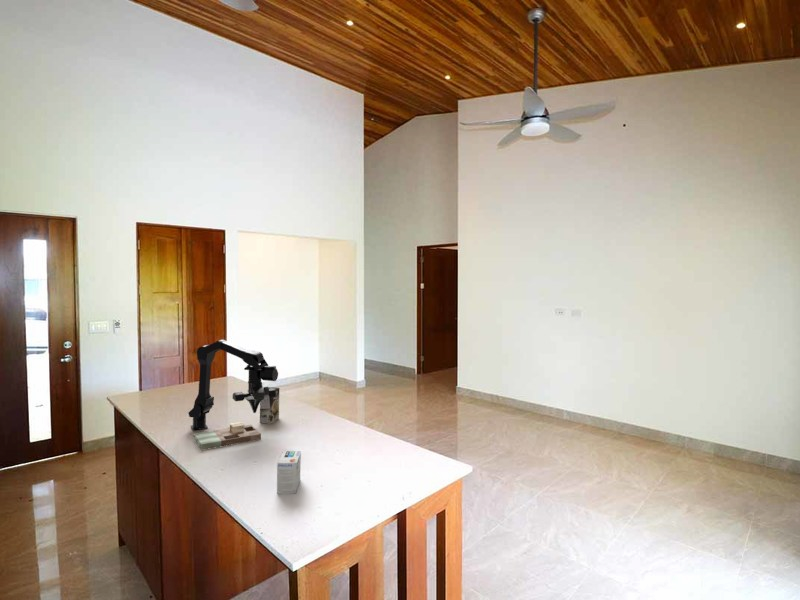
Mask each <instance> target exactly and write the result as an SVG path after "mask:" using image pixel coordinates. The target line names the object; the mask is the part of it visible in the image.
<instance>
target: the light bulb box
mask: <svg viewBox="0 0 800 600" xmlns="http://www.w3.org/2000/svg"><path fill="white" fill-rule="evenodd" d="M301 457H302V452H301V450H291V451H290V450H289V451H285V450H283V451H282V452H281V455H280V457H279V459H278V461H277V463H276V471H277V472H276V494H279V495H282V494H285V495H286V494H297V491H298V488H299V485H300V481H301V463H302V462H301V461H302V460H301Z"/></svg>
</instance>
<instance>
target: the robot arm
mask: <svg viewBox="0 0 800 600" xmlns="http://www.w3.org/2000/svg"><path fill="white" fill-rule="evenodd" d="M219 351H223V352H225V353H228V354H231V355H232V356H235V357H237V358H239V359H241V361H243V362H244V363H245V364H247V365H246V366H245V367H244V368H243V369H244V370H245V371H248V379H247V380H248V381H247V384H248V386H247V387H248V388H247V393H244V392H242V391H238V392H237V391H236V392H233V393H232V399H233V400H234V401H235V402H242V401H245V400H246V401H247V402H248V403H249V405H250V408H251V411H252V412H253V414H256V413H257V410H258V408H259V406H260V401H261V400H264V398H265V395H268V396H269V397H275V396H276V391H275V390H274V389H272V388H269V387H270V386H264V387H263V382H262V380H263V381H266V382H267V381H268V382H276V381H277V379H278V378H279V371H278V369H277V366H276V365H272V366H271V365H269V364H268V362H267V361H266V359H265V358H264V354H263V353H262V352H261V351H256V350H252V349H251V350H250V349H246V348H243V347H241V346H239V345H236V344H234V343H232V342H229V341H227V340H225V339H219V340H217V341H215V342H213V343H211V344H210V343H209V344H205V345H202V346H199V347H198V348H197V350H196V359H197V361H198V364H199V376H198V377H199V378H198V394H197V395H196V398H195V400H194V402H193V408H192V409H190V410H189V411H188V417H189V418H192V425H190V428H191V429H192V431H198V430H204V429H208V428H209V427H208V425H207V414H209V413H210V411H211V409H213V406H214V405H215V404H214V400H215V397H214V396H212V395H211V393H210V389H211V374H212V373H211V372H212V371H211V370H212V363H213V361H214V359H215V357H216V353H217V352H219Z"/></svg>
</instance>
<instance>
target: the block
mask: <svg viewBox="0 0 800 600" xmlns="http://www.w3.org/2000/svg"><path fill="white" fill-rule="evenodd" d="M244 426H245V424H244V423H243V422H242V421H238V422H232V423H229V428H230V431H231V432H232V433H238V432H244Z"/></svg>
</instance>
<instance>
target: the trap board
mask: <svg viewBox="0 0 800 600" xmlns="http://www.w3.org/2000/svg"><path fill="white" fill-rule="evenodd" d="M193 440H194V442H195V443H196V445H197V444H198V445H197V446H198V448H199V450H201V451H204V450H203V449H206V450H209V449H208V448H211V449H215V448H214V447H216V448H221V447H220V446H222V447H226V445H227V446H232V445H231V444H233V445H237V443H238V444H243V442H244V443H249V442H255V441H260V440H262V433H261V432H260V431H258V430H257V428H255V426H253V425H252V424H246V425H245V424H244V432H238V433H232V432H231V431H230V427H227V428H222V429H214V430H209V431H203V432H195V433H193ZM254 440H255V441H254Z"/></svg>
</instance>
